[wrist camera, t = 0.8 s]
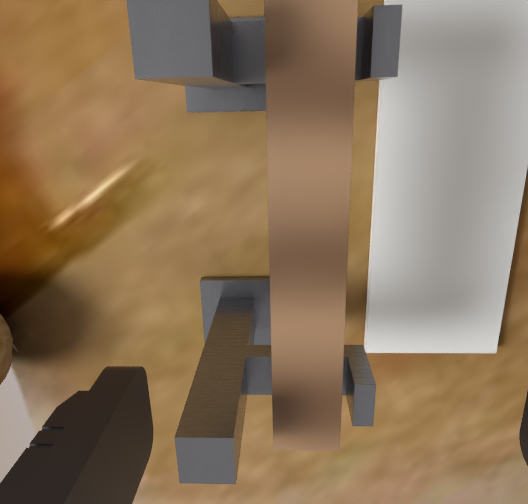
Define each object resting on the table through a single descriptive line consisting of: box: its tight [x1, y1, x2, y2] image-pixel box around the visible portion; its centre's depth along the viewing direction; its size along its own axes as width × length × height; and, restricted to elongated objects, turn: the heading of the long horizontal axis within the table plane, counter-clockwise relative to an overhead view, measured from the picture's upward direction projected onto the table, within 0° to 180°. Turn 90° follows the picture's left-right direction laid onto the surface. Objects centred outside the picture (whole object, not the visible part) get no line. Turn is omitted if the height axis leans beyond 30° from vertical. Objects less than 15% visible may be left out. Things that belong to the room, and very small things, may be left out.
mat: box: [364, 0, 528, 353], centre depth 28 cm, size 24×9×1 cm, turn 1°
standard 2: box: [127, 0, 403, 112], centre depth 20 cm, size 5×10×14 cm, turn 91°
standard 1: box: [175, 277, 376, 484], centre depth 25 cm, size 5×10×14 cm, turn 91°
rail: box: [264, 0, 358, 451], centre depth 20 cm, size 20×3×3 cm, turn 1°
